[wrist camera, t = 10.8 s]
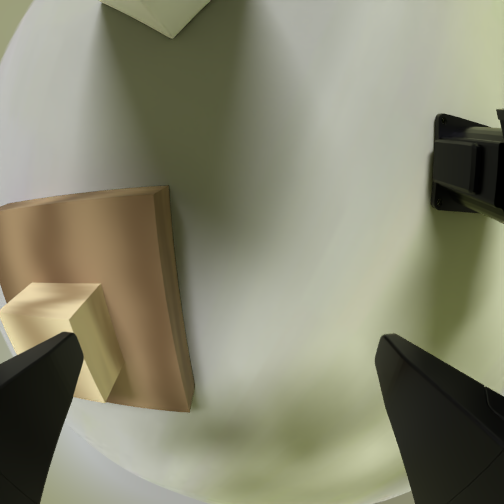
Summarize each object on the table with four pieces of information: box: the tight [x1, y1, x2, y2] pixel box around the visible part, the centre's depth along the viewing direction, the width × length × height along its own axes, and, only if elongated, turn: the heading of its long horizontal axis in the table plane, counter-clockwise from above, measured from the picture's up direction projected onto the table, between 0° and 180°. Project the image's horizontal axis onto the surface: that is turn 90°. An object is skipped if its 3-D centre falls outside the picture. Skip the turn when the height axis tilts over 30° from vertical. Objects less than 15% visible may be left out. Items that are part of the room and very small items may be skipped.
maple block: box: [0, 283, 125, 403], centre depth 15 cm, size 6×6×4 cm
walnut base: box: [0, 185, 195, 413], centre depth 18 cm, size 14×16×3 cm
